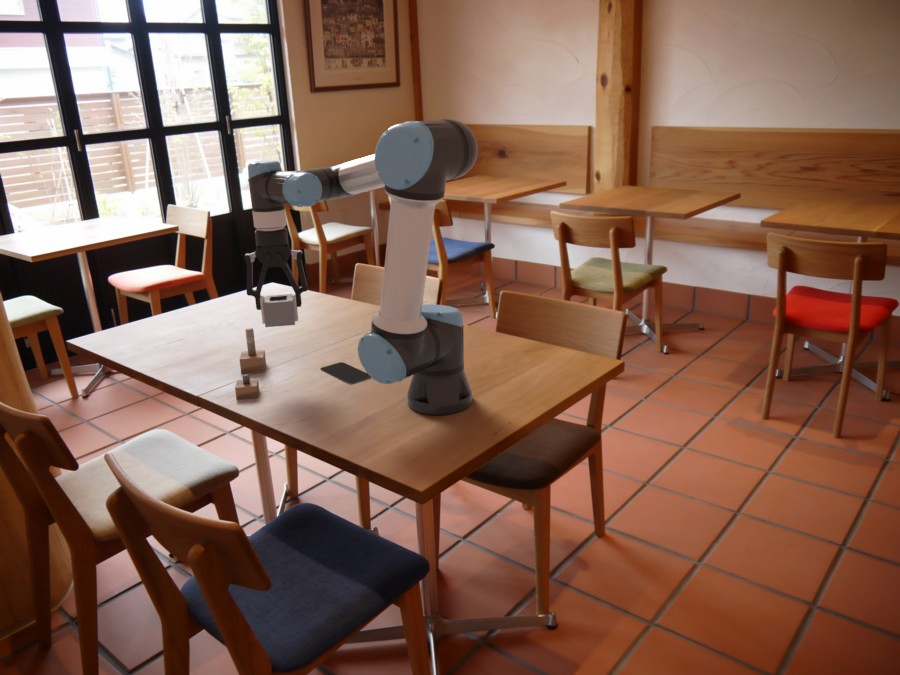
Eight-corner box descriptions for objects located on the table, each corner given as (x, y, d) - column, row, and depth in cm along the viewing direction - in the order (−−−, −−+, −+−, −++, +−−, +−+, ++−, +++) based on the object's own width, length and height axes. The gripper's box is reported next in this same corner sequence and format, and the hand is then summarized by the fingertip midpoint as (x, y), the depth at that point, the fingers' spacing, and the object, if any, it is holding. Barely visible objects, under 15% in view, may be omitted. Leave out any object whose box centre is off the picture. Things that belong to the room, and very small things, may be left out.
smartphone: (342, 361, 201) (373, 376, 190) (342, 363, 201) (374, 378, 190) (318, 368, 196) (349, 383, 185) (318, 370, 196) (349, 386, 185)
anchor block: (257, 397, 179) (255, 378, 177) (236, 399, 178) (234, 380, 177) (259, 389, 184) (257, 370, 182) (238, 391, 183) (236, 372, 181)
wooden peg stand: (264, 371, 195) (260, 331, 192) (241, 373, 194) (236, 333, 191) (266, 363, 201) (261, 325, 197) (243, 365, 200) (238, 326, 197)
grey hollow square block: (294, 325, 180) (292, 301, 178) (265, 327, 179) (262, 303, 177) (295, 316, 186) (293, 293, 185) (267, 319, 185) (264, 295, 184)
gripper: (313, 222, 180) (321, 313, 188) (229, 227, 177) (240, 319, 185) (313, 228, 173) (321, 321, 181) (225, 233, 170) (237, 328, 178)
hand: (280, 320), depth 183 cm, fingers closed on grey hollow square block, 7 cm apart
